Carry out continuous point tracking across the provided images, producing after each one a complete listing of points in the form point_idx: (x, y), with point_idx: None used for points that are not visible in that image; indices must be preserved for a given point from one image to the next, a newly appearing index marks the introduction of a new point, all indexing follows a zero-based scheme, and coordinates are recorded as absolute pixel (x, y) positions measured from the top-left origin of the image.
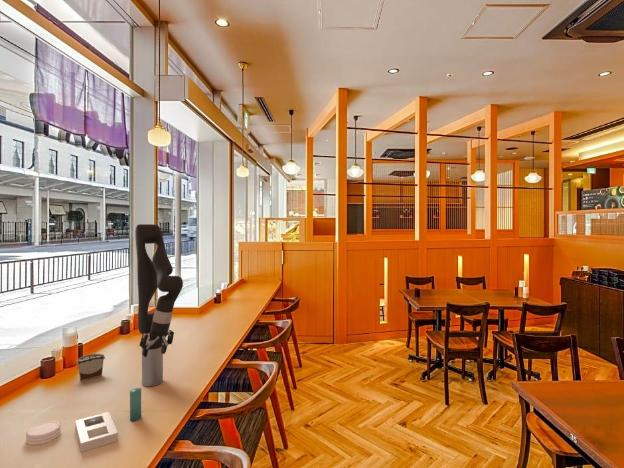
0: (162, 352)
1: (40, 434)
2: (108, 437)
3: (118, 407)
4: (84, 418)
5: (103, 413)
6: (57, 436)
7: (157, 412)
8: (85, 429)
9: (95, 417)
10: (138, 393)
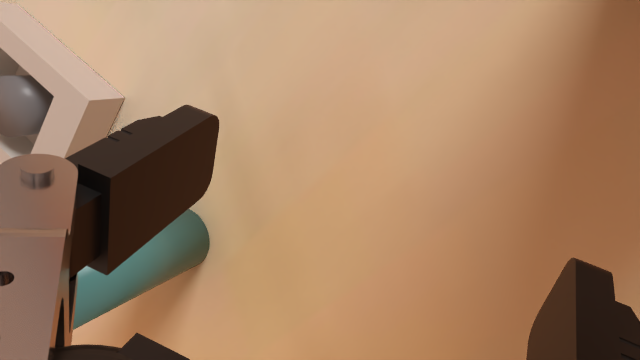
0: (545, 313)
1: None
2: None
3: (239, 25)
4: (3, 28)
5: (67, 85)
6: None
7: (274, 321)
8: None
9: (33, 75)
10: None
